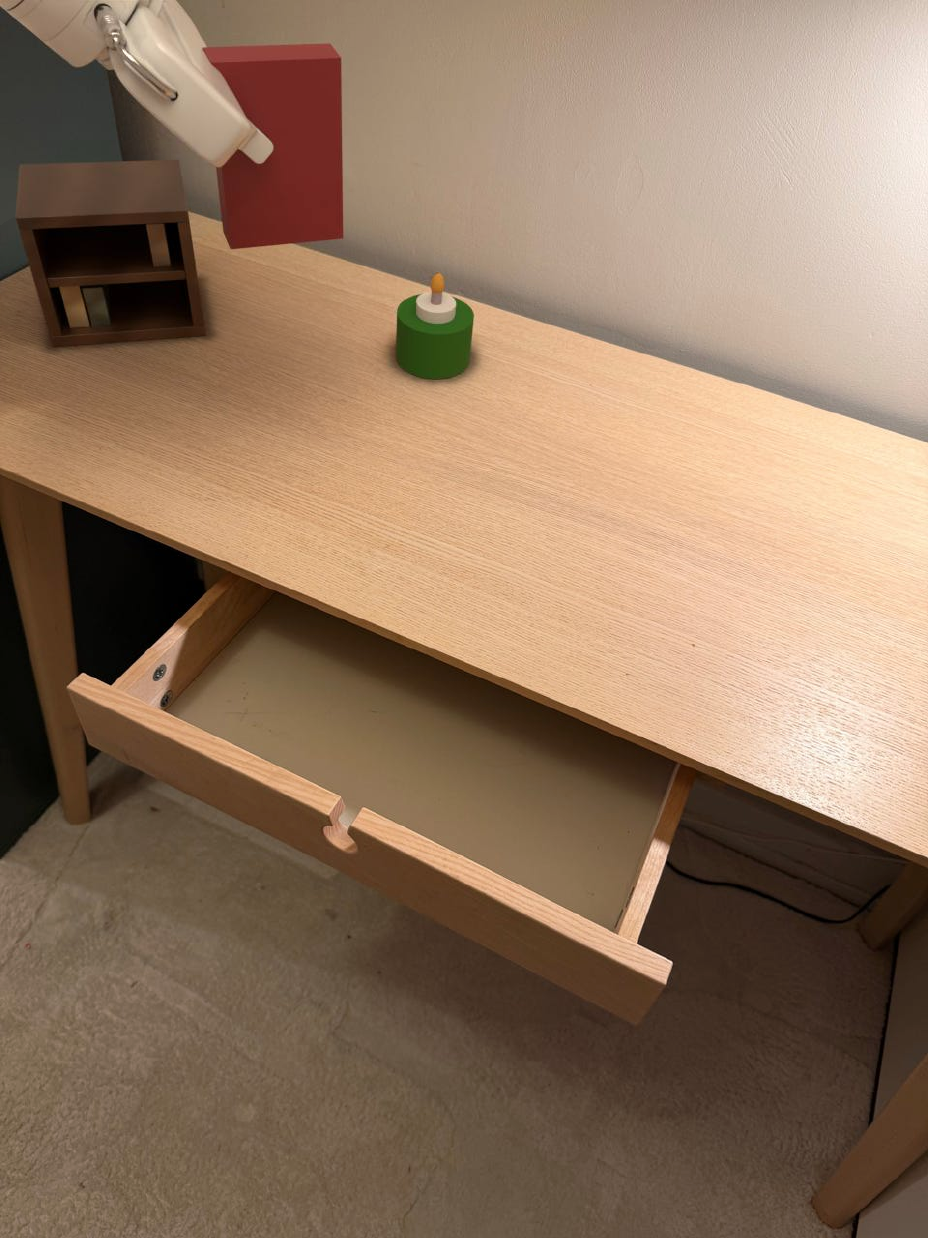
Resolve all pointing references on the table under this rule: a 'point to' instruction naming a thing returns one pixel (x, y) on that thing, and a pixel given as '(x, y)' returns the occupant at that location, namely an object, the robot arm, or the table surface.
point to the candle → (434, 333)
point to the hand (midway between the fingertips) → (259, 140)
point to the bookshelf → (110, 250)
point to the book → (284, 145)
